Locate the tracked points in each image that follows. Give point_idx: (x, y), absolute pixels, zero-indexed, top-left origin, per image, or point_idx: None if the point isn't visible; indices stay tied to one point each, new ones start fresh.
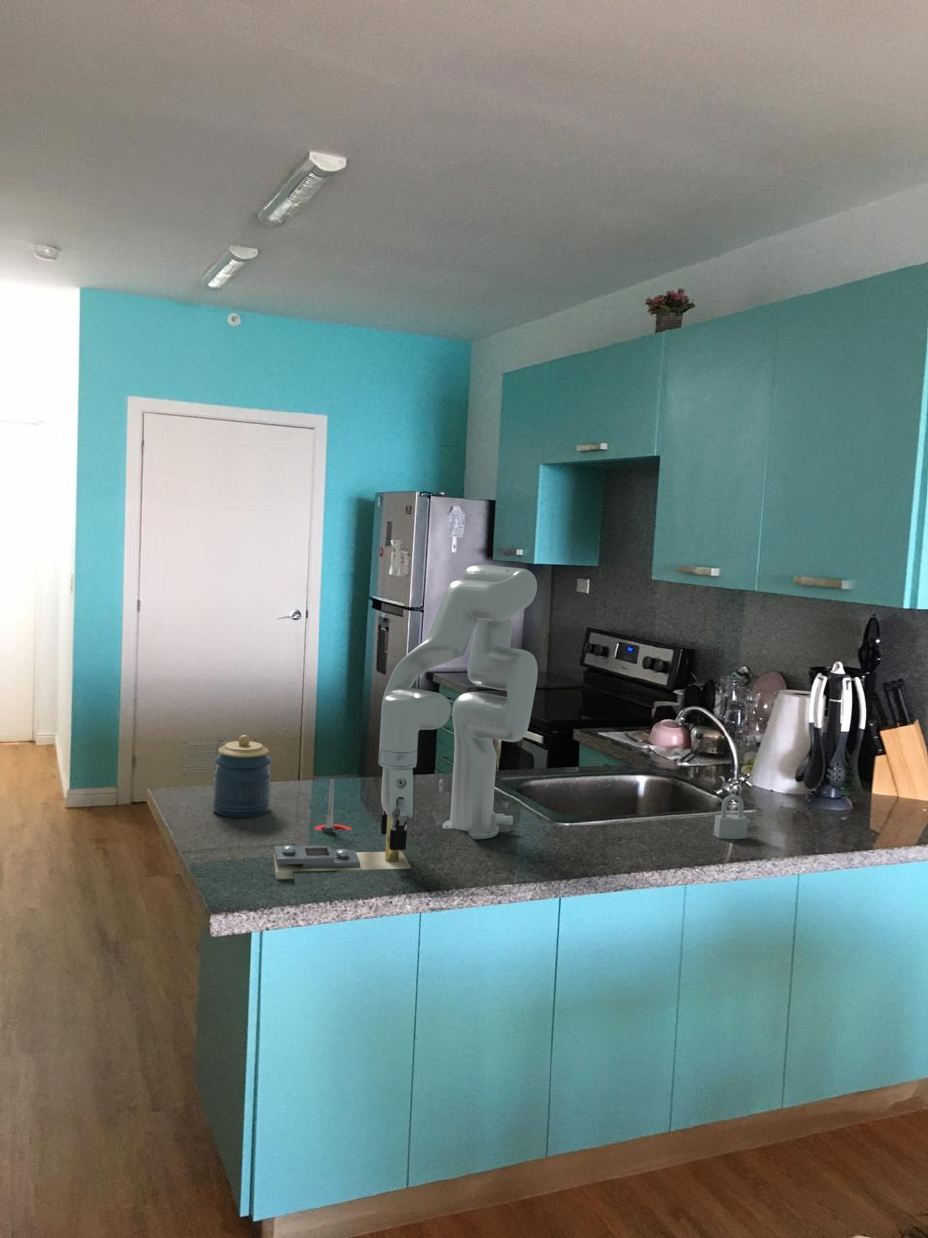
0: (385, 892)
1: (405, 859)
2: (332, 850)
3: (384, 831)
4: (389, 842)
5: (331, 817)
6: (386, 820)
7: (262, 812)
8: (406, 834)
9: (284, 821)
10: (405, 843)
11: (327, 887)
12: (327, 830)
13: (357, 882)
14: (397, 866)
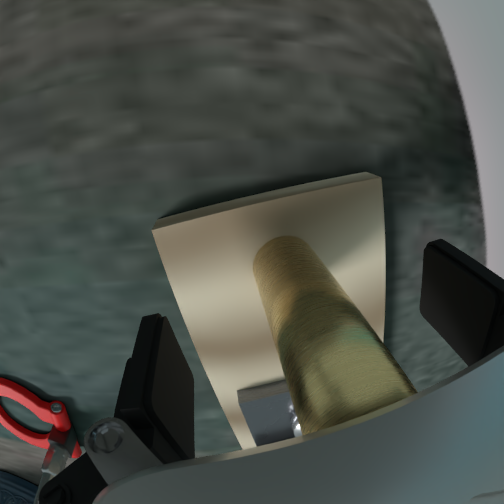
0: (472, 251)
1: (270, 205)
2: (259, 442)
3: (188, 378)
4: (439, 331)
5: (55, 471)
6: (185, 427)
7: (27, 484)
8: (495, 274)
9: (28, 465)
10: (458, 253)
11: (419, 376)
12: (70, 448)
13: (405, 331)
14: (361, 236)
